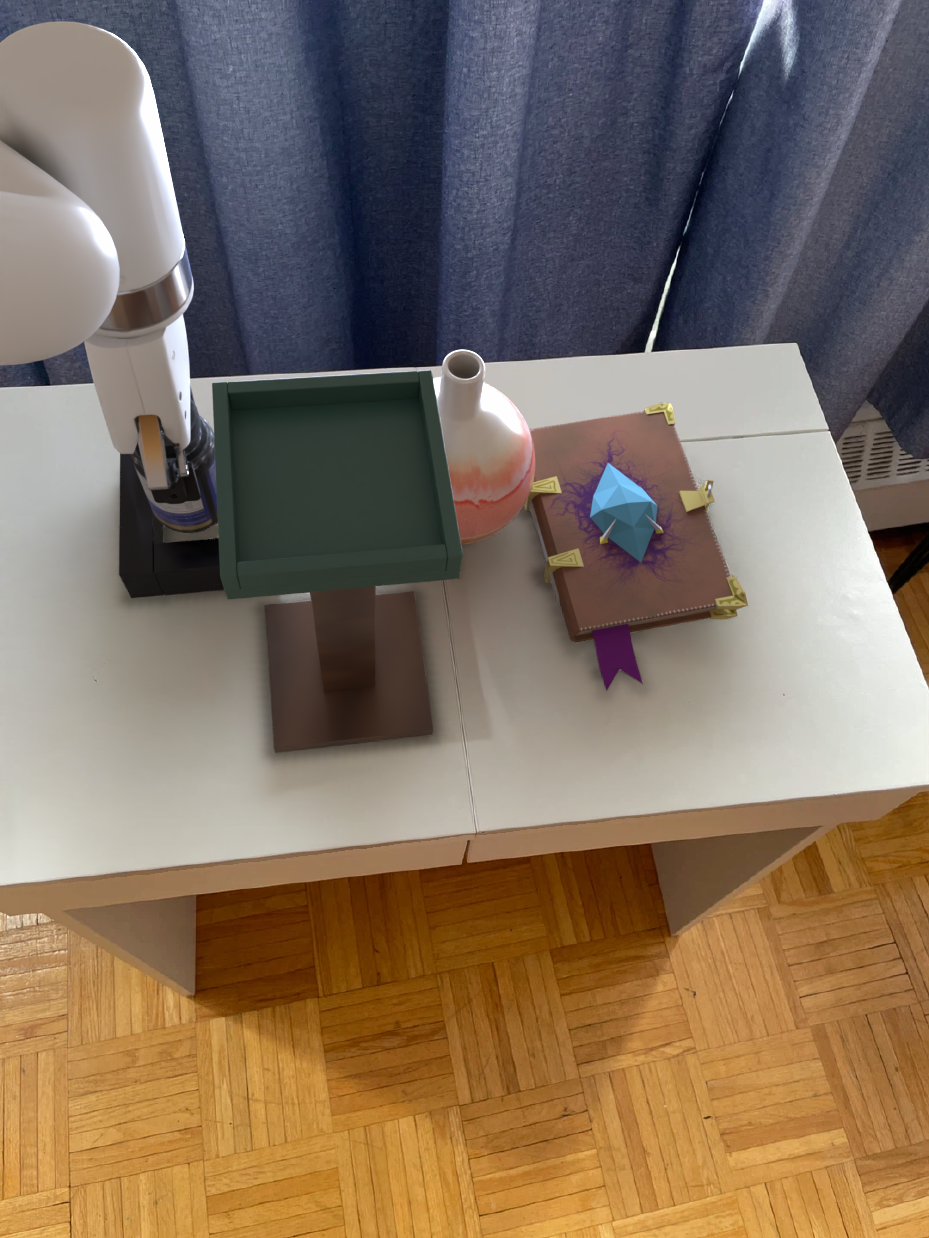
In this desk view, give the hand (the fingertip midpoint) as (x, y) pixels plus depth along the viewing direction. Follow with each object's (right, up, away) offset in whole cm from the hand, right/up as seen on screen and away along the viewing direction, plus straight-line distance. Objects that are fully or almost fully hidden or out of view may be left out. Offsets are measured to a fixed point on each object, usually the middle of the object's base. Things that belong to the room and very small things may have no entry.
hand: (177, 458), depth 69 cm
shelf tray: (+14, -5, -18) cm, 23 cm away
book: (+35, -6, +12) cm, 38 cm away
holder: (-1, -4, +10) cm, 11 cm away
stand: (+12, -16, +5) cm, 21 cm away
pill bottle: (-1, -3, +6) cm, 6 cm away
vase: (+20, -2, +13) cm, 24 cm away
